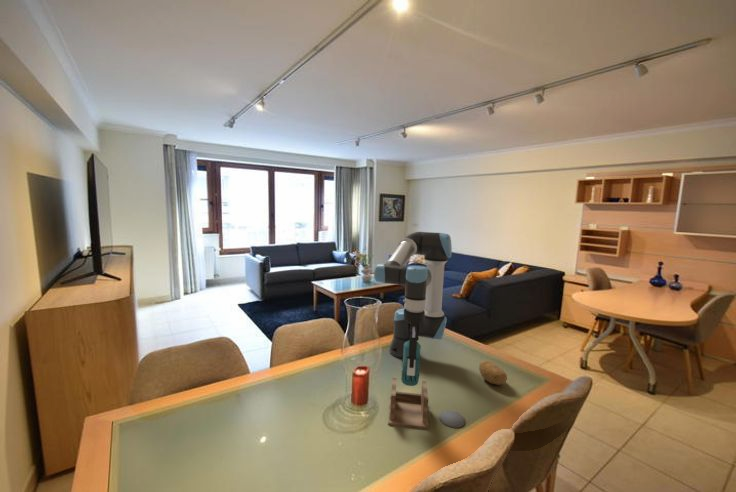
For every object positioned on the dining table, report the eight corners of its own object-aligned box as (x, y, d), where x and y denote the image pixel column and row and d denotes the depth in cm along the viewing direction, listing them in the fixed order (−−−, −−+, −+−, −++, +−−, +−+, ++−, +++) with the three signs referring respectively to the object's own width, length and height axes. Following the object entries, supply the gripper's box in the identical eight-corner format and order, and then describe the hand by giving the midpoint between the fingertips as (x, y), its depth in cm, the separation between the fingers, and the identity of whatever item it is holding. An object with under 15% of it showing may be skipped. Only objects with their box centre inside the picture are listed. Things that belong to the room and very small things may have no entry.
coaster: (438, 410, 122) (438, 409, 122) (462, 412, 121) (462, 411, 121) (440, 426, 113) (440, 424, 113) (466, 429, 112) (466, 427, 112)
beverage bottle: (398, 386, 117) (401, 334, 115) (404, 378, 123) (407, 328, 121) (415, 392, 114) (418, 338, 112) (421, 383, 120) (424, 332, 118)
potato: (494, 392, 136) (496, 374, 135) (473, 375, 149) (474, 359, 148) (512, 388, 140) (514, 371, 139) (489, 372, 153) (491, 356, 152)
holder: (390, 398, 129) (391, 375, 127) (425, 401, 127) (427, 378, 126) (388, 424, 113) (389, 398, 112) (428, 429, 111) (430, 403, 110)
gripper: (404, 301, 125) (400, 357, 128) (403, 317, 106) (399, 383, 109) (423, 302, 124) (419, 358, 127) (426, 319, 105) (422, 385, 108)
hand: (410, 369), depth 118 cm, fingers closed on beverage bottle, 6 cm apart
